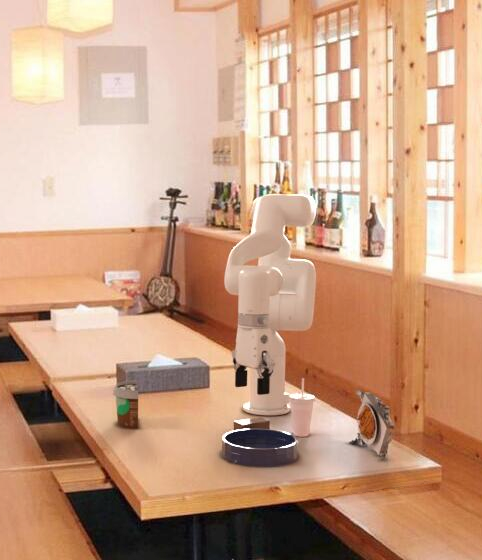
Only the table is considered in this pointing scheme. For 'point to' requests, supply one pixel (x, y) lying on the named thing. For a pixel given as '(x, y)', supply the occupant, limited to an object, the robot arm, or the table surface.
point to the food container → (127, 404)
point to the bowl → (259, 447)
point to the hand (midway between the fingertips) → (251, 390)
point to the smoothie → (301, 412)
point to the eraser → (252, 424)
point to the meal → (373, 424)
